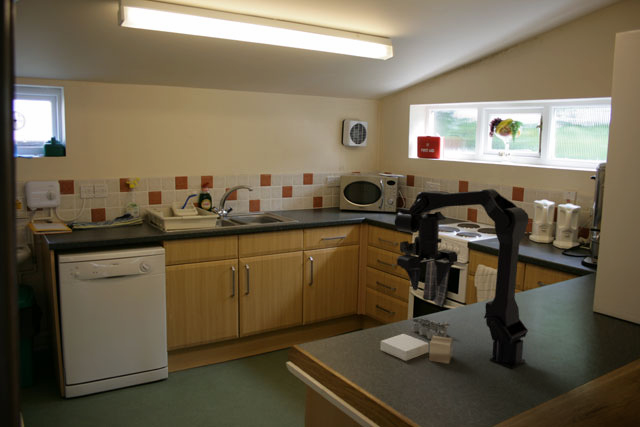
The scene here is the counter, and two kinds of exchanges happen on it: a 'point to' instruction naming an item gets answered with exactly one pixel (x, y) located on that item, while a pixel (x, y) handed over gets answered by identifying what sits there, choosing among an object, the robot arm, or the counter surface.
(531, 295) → the counter surface
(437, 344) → the cube
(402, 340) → the base
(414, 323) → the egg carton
